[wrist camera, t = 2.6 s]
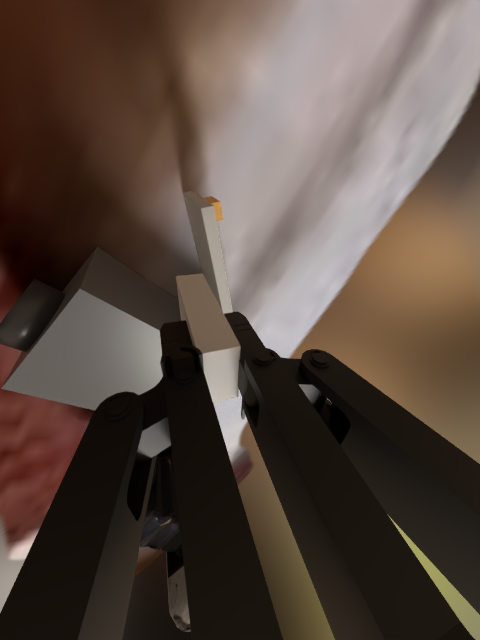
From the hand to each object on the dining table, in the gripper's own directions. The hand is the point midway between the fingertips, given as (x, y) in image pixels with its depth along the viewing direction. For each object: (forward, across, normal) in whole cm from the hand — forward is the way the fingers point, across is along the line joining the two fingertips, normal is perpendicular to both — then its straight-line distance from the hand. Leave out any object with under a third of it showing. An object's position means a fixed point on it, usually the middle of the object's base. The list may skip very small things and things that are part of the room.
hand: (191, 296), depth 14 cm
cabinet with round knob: (+10, -4, -8) cm, 14 cm away
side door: (+10, +3, -2) cm, 11 cm away
